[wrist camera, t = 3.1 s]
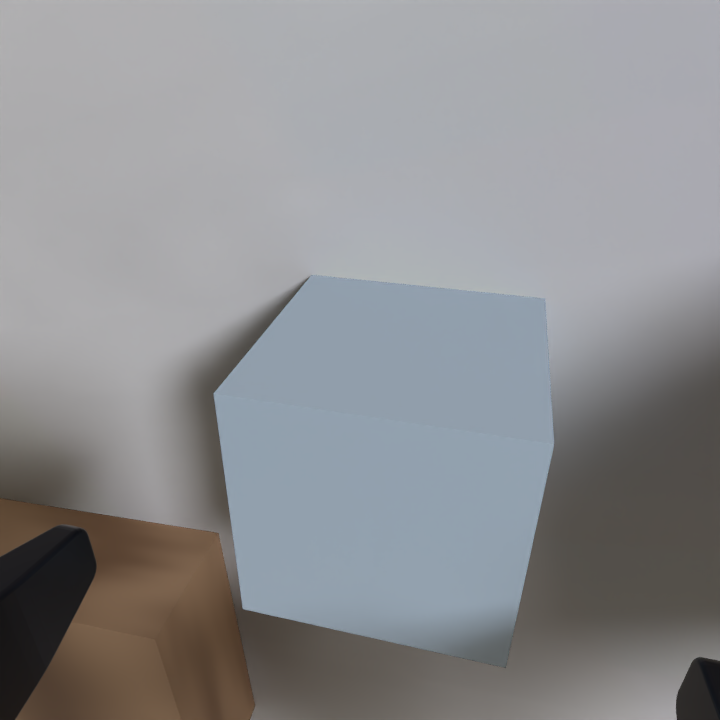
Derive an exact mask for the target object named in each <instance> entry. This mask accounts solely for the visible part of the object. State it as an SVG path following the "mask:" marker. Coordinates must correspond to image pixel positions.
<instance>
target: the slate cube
mask: <svg viewBox="0 0 720 720" xmlns="http://www.w3.org/2000/svg"><path fill="white" fill-rule="evenodd" d="M214 401H215V408H216V416H217V423H218V431H219V438H220V445H221V453H222V460H223V467H224V475H225V482H226V489H227V497H228V504H229V511H230V519H231V526H232V533H233V541H234V548H235V556H236V563H237V570H238V578H239V585H240V592H241V600H242V607H243V609H245V610H249V611H253V612H258V613H262V614H267V615H271V616H276V617H280V618H285V619H289V620H294V621H298V622H303V623H307V624H312V625H316V626H320V627H325V628H329V629H334V630H338V631H343V632H347V633H352V634H356V635H361V636H365V637H370V638H374V639H379V640H383V641H387V642H392V643H396V644H401V645H405V646H410V647H414V648H419V649H423V650H428V651H432V652H437V653H441V654H446V655H450V656H454V657H459V658H463V659H468V660H472V661H477V662H481V663H486V664H490V665H495V666H499V667H504V668H506V664H507V660H508V655H509V650H510V646H511V641H512V637H513V632H514V627H515V623H516V618H517V614H518V609H519V604H520V600H521V595H522V591H523V586H524V581H525V577H526V572H527V568H528V563H529V558H530V554H531V549H532V544H533V540H534V535H535V531H536V526H537V521H538V517H539V512H540V508H541V503H542V498H543V494H544V489H545V485H546V480H547V475H548V471H549V466H550V462H551V457H552V452H553V448H554V432H553V416H552V400H551V384H550V368H549V352H548V336H547V320H546V304H545V299H544V298H534V297H524V296H514V295H504V294H495V293H485V292H475V291H465V290H455V289H445V288H435V287H426V286H416V285H406V284H396V283H386V282H376V281H366V280H357V279H347V278H337V277H327V276H317V275H311V276H310V278H309V279H308V280H307V281H306V282H305V284H304V285H303V286H302V287H301V288H300V290H299V291H298V292H297V293H296V294H295V296H294V297H293V298H292V299H291V300H290V302H289V303H288V304H287V305H286V307H285V308H284V309H283V310H282V311H281V313H280V314H279V315H278V316H277V317H276V319H275V320H274V321H273V322H272V323H271V325H270V326H269V327H268V328H267V329H266V331H265V332H264V333H263V334H262V336H261V337H260V338H259V339H258V340H257V342H256V343H255V344H254V345H253V346H252V348H251V349H250V350H249V351H248V352H247V354H246V355H245V356H244V357H243V359H242V360H241V361H240V362H239V363H238V365H237V366H236V367H235V368H234V369H233V371H232V372H231V373H230V374H229V375H228V377H227V378H226V379H225V380H224V381H223V383H222V384H221V385H220V386H219V388H218V389H217V390H216V391H215V392H214Z"/></svg>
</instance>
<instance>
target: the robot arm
mask: <svg viewBox="0 0 720 720" xmlns="http://www.w3.org/2000/svg"><path fill="white" fill-rule="evenodd" d="M96 569H97V562H96V558H95V555H94V552H93V548H92V545H91V542H90V539H89V535H88V533H87V531H86V530H85V529H83V528H81V527H76V526H71V525H66V524H61V525H57V526H55V527H53V528H51V529H49V530H47V531H46V532H44V533H42V534H40V535H38V536H37V537H35V538H33V539H31V540H29V541H27V542H26V543H24V544H22V545H20V546H18V547H17V548H15V549H13V550H11V551H9V552H7V553H6V554H4V555H2V556H0V720H15V719H16V718H17V716H18V715H19V713H20V712H21V710H22V708H23V707H24V705H25V704H26V702H27V700H28V699H29V697H30V696H31V694H32V693H33V691H34V689H35V688H36V686H37V685H38V683H39V681H40V680H41V678H42V676H43V675H44V673H45V671H46V670H47V668H48V666H49V664H50V663H51V661H52V659H53V657H54V655H55V653H56V651H57V650H58V648H59V646H60V644H61V642H62V640H63V638H64V636H65V634H66V632H67V630H68V628H69V626H70V624H71V622H72V620H73V618H74V616H75V614H76V612H77V610H78V609H79V607H80V605H81V603H82V601H83V599H84V597H85V595H86V593H87V591H88V589H89V587H90V585H91V583H92V581H93V579H94V577H95V574H96ZM676 715H677V720H720V661H717V660H712V659H708V658H703V657H698V658H696V659H694V660H693V662H692V663H691V666H690V668H689V670H688V672H687V674H686V676H685V678H684V680H683V682H682V684H681V687H680V689H679V691H678V694H677V699H676Z"/></svg>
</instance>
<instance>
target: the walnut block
mask: <svg viewBox="0 0 720 720" xmlns="http://www.w3.org/2000/svg"><path fill="white" fill-rule="evenodd" d="M61 524H66V525H71V526H76V527H81V528H83V529H85V530H86V531H87V533H88V535H89V539H90V542H91V545H92V548H93V552H94V555H95V558H96V562H97V569H96V574H95V577H94V579H93V581H92V583H91V585H90V587H89V589H88V591H87V593H86V595H85V597H84V599H83V601H82V603H81V605H80V607H79V609H78V610H77V612H76V614H75V616H74V618H73V620H72V622H71V624H70V626H69V628H68V630H67V632H66V634H65V636H64V638H63V640H62V642H61V644H60V646H59V648H58V650H57V651H56V653H55V655H54V657H53V659H52V661H51V663H50V664H49V666H48V668H47V670H46V671H45V673H44V675H43V676H42V678H41V680H40V681H39V683H38V685H37V686H36V688H35V689H34V691H33V693H32V694H31V696H30V697H29V699H28V700H27V702H26V704H25V705H24V707H23V708H22V710H21V712H20V713H19V715H18V716H17V718H16V719H15V720H250V718H251V715H252V713H253V710H254V707H255V703H254V698H253V693H252V689H251V684H250V679H249V675H248V670H247V665H246V660H245V656H244V651H243V646H242V642H241V637H240V632H239V628H238V623H237V618H236V614H235V609H234V604H233V599H232V595H231V590H230V585H229V581H228V576H227V571H226V567H225V562H224V557H223V552H222V548H221V543H220V538H219V534H218V533H215V532H209V531H202V530H196V529H190V528H183V527H177V526H171V525H165V524H158V523H152V522H146V521H139V520H133V519H127V518H121V517H114V516H108V515H102V514H95V513H89V512H83V511H77V510H70V509H64V508H58V507H51V506H45V505H39V504H33V503H26V502H20V501H14V500H7V499H1V498H0V556H2V555H4V554H6V553H7V552H9V551H11V550H13V549H15V548H17V547H18V546H20V545H22V544H24V543H26V542H27V541H29V540H31V539H33V538H35V537H37V536H38V535H40V534H42V533H44V532H46V531H47V530H49V529H51V528H53V527H55V526H57V525H61Z"/></svg>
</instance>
